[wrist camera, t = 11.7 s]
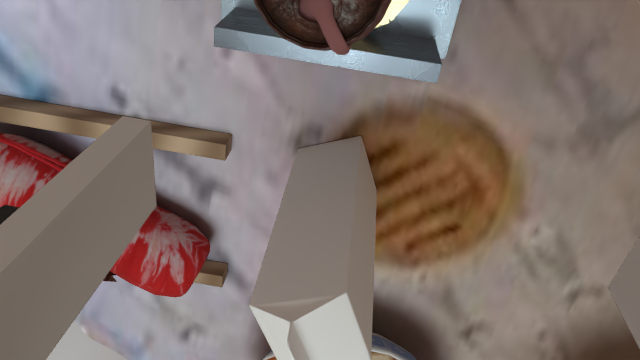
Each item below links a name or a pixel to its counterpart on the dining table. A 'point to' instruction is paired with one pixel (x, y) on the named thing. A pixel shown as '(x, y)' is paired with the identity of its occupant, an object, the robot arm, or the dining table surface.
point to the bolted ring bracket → (366, 54)
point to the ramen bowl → (376, 350)
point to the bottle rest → (100, 122)
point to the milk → (321, 258)
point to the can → (323, 21)
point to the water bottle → (144, 249)
